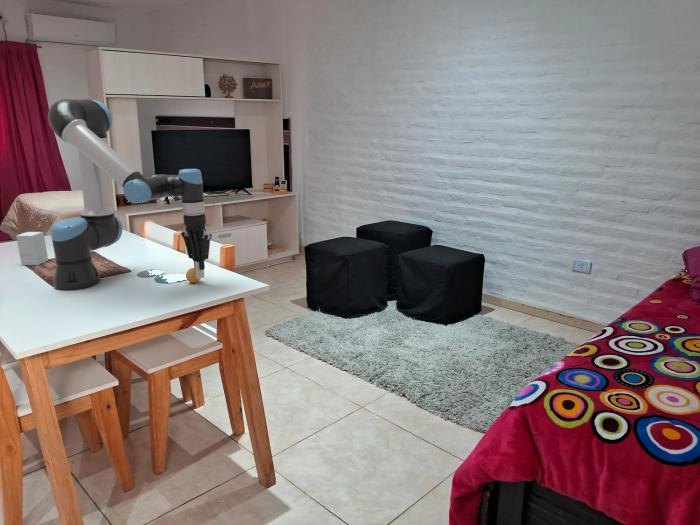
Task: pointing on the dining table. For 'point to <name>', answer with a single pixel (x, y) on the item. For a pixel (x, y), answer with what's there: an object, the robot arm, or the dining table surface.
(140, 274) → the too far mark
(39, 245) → the supplement box
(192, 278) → the ball
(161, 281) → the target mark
